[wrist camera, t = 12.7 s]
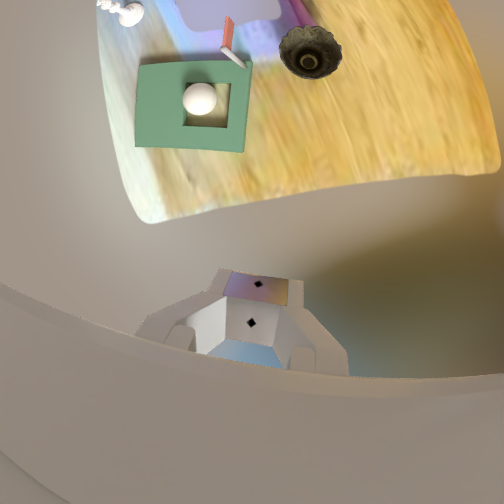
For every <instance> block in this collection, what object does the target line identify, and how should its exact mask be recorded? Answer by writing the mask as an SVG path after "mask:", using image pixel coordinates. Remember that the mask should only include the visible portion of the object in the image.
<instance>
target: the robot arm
mask: <svg viewBox="0 0 504 504" xmlns="http://www.w3.org/2000/svg"><path fill="white" fill-rule="evenodd" d="M303 293H304V282H303V281H298V280H288V279H282V278H274V277H267V276H261V275H256V274H251V273H246V272H240V271H235V270H234V271H233V270H230V269H224V268H219V269H218V270H217V272H216V274H215V276H214V278H213V280H212V282H211V284H210V286H209V287H208V289H207V291H206V292H200V293H198V294H195V295H193V296H191V297H189V298H186V299H184V300H182V301H180V302H177V303H175V304H173V305H171V306H168V307H166V308H164V309H162V310H159V311H157V312H155V313H152V314H150V315H148V316H147V317H146V319H145V320H144V322H143V323H142V325H141V326H140V328H139V329H138V331H137V332H136V333H135V335H134V336H133V335H130V334H126V333H124V332H120V331H117V330H114V329H111V328H108V327H106V326H103V325H100V324H97V323H94V322H91V321H88V320H86V319H83V318H80V317H78V316H75V315H72V314H70V313H67V312H64V311H62V310H60V309H57V308H55V307H53V306H50V305H48V304H45V303H43V302H41V301H38V300H36V299H34V298H32V297H29V296H27V295H25V294H23V293H21V292H19V291H17V290H15V289H12V288H10V287H8V286H6V285H4V284H2V283H0V504H504V373H502V374H493V375H483V376H472V377H457V378H434V379H433V378H430V379H395V378H368V377H353V376H349V369H348V360H347V352H346V351H345V350H344V348H342V346H341V345H340V344H339V343H338V342H337V341H336V340H335V339H334V338H333V336H331V334H330V333H329V332H328V331H327V330H326V329H325V328H324V327H323V326H322V325H321V324H320V323H319V321H318V320H317V319H316V318H315V317H314V316H313V315H312V314H311V313H310V312H309V310H307V309H303V298H304V294H303ZM225 338H226V339H232V340H237V341H244V342H250V343H255V344H260V345H265V346H270V347H273V349H274V351H275V353H276V355H277V356H278V358H279V360H280V362H281V364H282V366H283V368H284V369H279V368H273V367H266V366H261V365H255V364H249V363H244V362H238V361H233V360H228V359H223V358H219V357H214V356H209V355H205V354H206V353H208V352H209V351H210V350H212V349H213V348H214V347H216V346H217V345H218V344H219V343H221V342H222V341H223V340H224V339H225Z"/></svg>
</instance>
